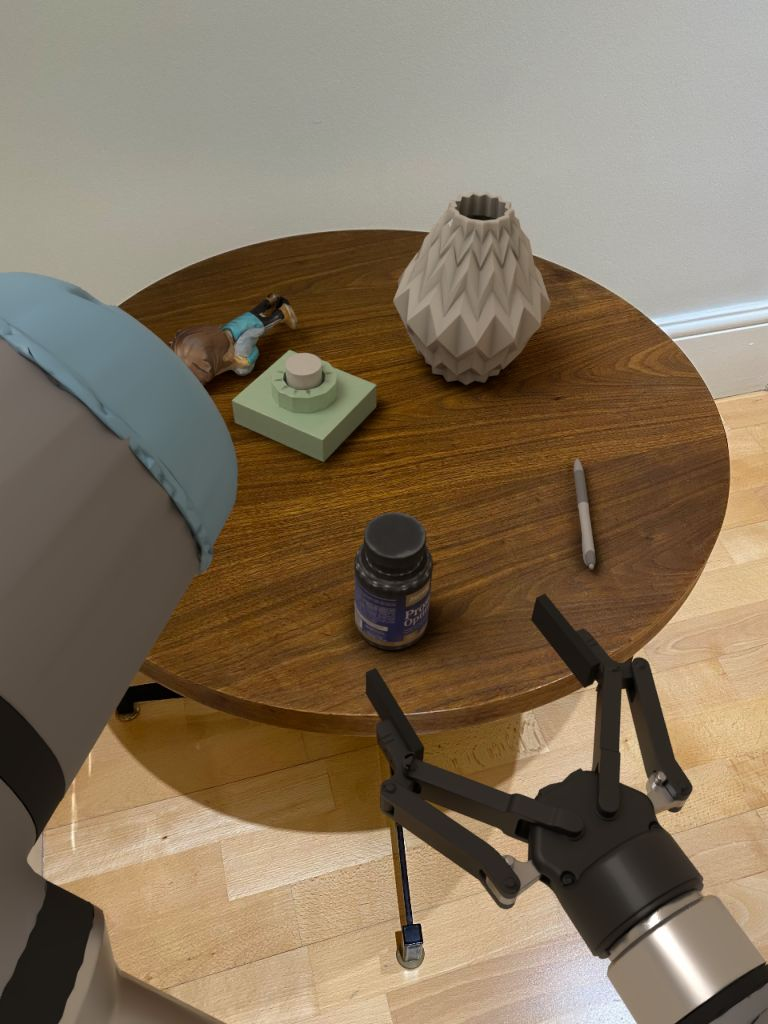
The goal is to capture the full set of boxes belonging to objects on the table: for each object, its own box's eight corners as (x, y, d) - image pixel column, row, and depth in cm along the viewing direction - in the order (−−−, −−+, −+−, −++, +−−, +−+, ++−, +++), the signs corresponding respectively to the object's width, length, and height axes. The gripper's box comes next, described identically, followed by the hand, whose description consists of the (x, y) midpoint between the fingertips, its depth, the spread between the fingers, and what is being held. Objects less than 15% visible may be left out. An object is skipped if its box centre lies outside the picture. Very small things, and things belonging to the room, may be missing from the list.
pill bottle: (414, 661, 71) (421, 575, 63) (343, 640, 72) (341, 553, 64) (436, 604, 75) (445, 516, 67) (369, 585, 76) (370, 496, 68)
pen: (583, 574, 77) (587, 564, 76) (570, 465, 87) (572, 454, 86) (595, 575, 77) (598, 565, 76) (580, 465, 87) (583, 455, 86)
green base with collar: (234, 422, 90) (229, 384, 86) (290, 371, 96) (288, 334, 92) (323, 462, 86) (322, 424, 83) (376, 407, 92) (377, 369, 88)
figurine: (162, 373, 95) (153, 326, 91) (273, 317, 103) (269, 271, 98) (204, 405, 92) (196, 358, 87) (315, 345, 99) (313, 299, 95)
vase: (551, 338, 101) (581, 185, 87) (513, 425, 91) (541, 266, 77) (419, 306, 105) (428, 155, 91) (368, 386, 94) (370, 229, 81)
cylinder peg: (279, 383, 87) (277, 367, 86) (299, 364, 89) (298, 348, 88) (309, 396, 86) (308, 379, 84) (329, 376, 88) (328, 360, 87)
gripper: (457, 1063, 47) (296, 743, 60) (795, 850, 55) (591, 609, 68) (469, 1028, 42) (289, 684, 54) (843, 797, 50) (611, 546, 62)
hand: (457, 642), depth 61 cm, fingers open, 13 cm apart
